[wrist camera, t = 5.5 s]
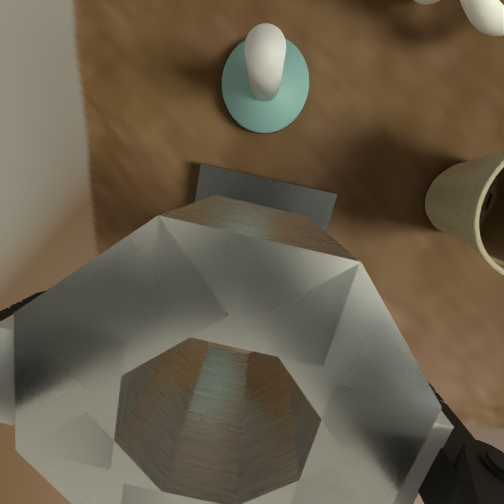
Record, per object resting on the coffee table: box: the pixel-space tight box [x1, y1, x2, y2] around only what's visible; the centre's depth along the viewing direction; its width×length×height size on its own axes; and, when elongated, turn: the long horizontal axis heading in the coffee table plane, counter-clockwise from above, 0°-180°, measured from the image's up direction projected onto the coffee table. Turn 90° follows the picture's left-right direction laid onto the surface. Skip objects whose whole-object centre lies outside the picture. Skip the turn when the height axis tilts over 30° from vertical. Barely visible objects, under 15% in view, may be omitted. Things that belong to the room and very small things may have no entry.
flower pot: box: [425, 152, 504, 275], centre depth 20 cm, size 9×9×9 cm
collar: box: [14, 195, 442, 504], centre depth 9 cm, size 9×9×6 cm
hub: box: [195, 163, 338, 231], centre depth 22 cm, size 12×12×9 cm
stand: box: [222, 23, 309, 134], centre depth 19 cm, size 7×7×8 cm
